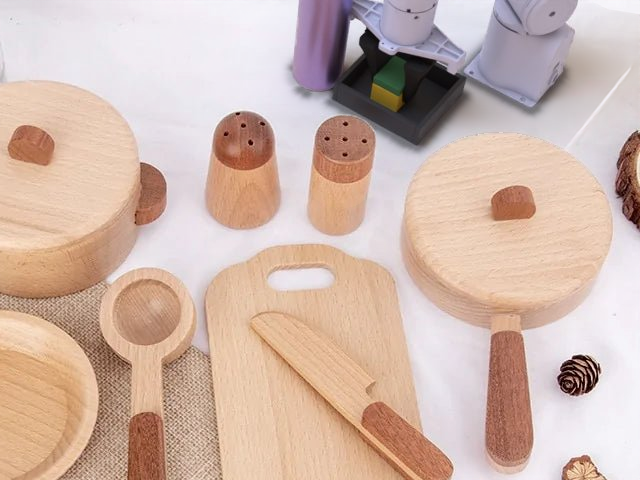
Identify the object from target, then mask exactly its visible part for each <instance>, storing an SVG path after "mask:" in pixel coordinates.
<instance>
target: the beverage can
mask: <svg viewBox="0 0 640 480" xmlns="http://www.w3.org/2000/svg"><path fill="white" fill-rule="evenodd" d="M352 7H353V0H298V7H297V16H296V17H297V19H296V27H295V36H294V37H295V38H294V47H293V57H292V69H291V72H292V77H293V78H294V80H295V82H296V83H297V84H298V85H299V86H300V87H302V88H304V89H306V90H309V91H312V92H313V91H314V92H324V91H328V90H332V89H333V88H334V83H335V82H336V81H337V80H338V79H339V78H340V77H341V76H342V75H343V74H344V67H345V60H346V52H347V47H348V39H349V32H350V27H351V13H352Z"/></svg>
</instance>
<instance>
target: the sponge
mask: <svg viewBox="0 0 640 480" xmlns="http://www.w3.org/2000/svg"><path fill="white" fill-rule="evenodd" d="M406 62H407V61H405V60H403V59H401V58H399V57H397V56H395V55H394V56H393V57H392V58H391V59H390V61H389V62H388V63H387V64H386V65H385V66H384V67H383V68H382V69H381V70H380V71H379V72H378V73H377V74H376V75H375V76H374V79H373V85H372V91H371V97H370V99H372V100H374V101H376V102H378V103H380V104H382V105H383V106H385V107H387V108H389V109H391V110H393V111H394V112H397V111H398V110H399V109H400V107H401V106H402V105H403V104H404V102H402V93H403V89H404V85H405V71H404V64H405V63H406Z"/></svg>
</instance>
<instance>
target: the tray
mask: <svg viewBox="0 0 640 480" xmlns="http://www.w3.org/2000/svg"><path fill="white" fill-rule="evenodd" d="M394 55H395V56H397V57H399V58H401V59H403V60H405V61H408V60H409V59H410V58H411V57H412V56H413V55H412V54H408V53H403V52H397V53H396V54H394ZM394 55H391V58H392V57H393V56H394ZM467 79H468V77H467V76H465V75H463V74H461V73H459V72H457V73H456V74H455V75H453V74H451V73H449V72H448V71H447V66H446V65H444V64H442V63H440V62H438V61H437V62H436V63H435V64H434V65H433V66H432V68H431V69H430V70H429V72H428V73H427V74H426V76H425V77H424V79H423V80H422V82H421V84H420V86H419V88H418V90H417V92H416V95H415V96H414V97H413V98H412V99H411V100H410V101H409V102H408V103H404V104H403V105H402V106H401V107H400V109H399V110H398V111H397V112H394V111H393V110H391V109H389V108H387V107H385V106H383V105H382V104H380V103H378V102H376V101H374V100H372V99H370V97H371V91H372V79H371V73H370V68H369V64H368V61H367V58H366V56H365V54H364V52H363V53H362V54H361V55H360V56H359V57H358V58H357V59H356V60H355V61H354V62H353V63H352V64H351V65H350V66H349V67H348V68H347V70H345V71H344V72H343V74H342V76H341V77H340V78H339V79H338V80H337V81H336V82H335V83H334V87H333V88H332V96H331V100H332V101H334V102H336V103H338V104H340V105H342V106H343V107H345V108H347V109H348V110H351V111H353V112H354V113H356V114H358V115H359V116H362V117H363V118H365V119H366V120H369V121H371V122H372V123H374V124H376V125H377V126H380V127H381V128H383V129H386V130H387V131H389V132H391V133H393V134H394V135H396V136H397V137H400V138H402V139H403V140H405V141H406V142H409V143H411V144H413V145H415V146H418V144H419V143H420V142H421V141H422V140H423V139H424V138H425V136H427V134H428V133H429V132H430V131H431V130H432V129H433V128H434V126H435V125H436V124H437V123H439V121H440V120H441V119H442V117H443V116H445V114H446V113H447V112H448V111H449V110H450V108H451V107H452V106H453V105H454V104H455V103H456V102H457V100H459V98H460V97H461V96H462V95H463V93H464V91H465V86H466V82H467Z"/></svg>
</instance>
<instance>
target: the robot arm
mask: <svg viewBox="0 0 640 480" xmlns="http://www.w3.org/2000/svg"><path fill="white" fill-rule="evenodd" d="M578 2H579V0H494V3H493V6H492V10H491V14H490V18H489V21H488V25H487V29H486V33H485V36H484V40H483V42H482V47H481V50H480V52H478V53H477V55H476V56H475V57H474V58H473V59H472V60H471V62H470V63H469V64H468V65H467V66H466V67H464V64H465V61H466V57H467V53H468V51H467V50H465V49H463V48H461V47H460V46H458V45H457V44H456V43H455V42H453V40H451V39H450V37H449V36H447V34H445V33H444V32H443V31H442V30H441V29H440V28H439V27H438V26H437V25H436V24H435V23H434V21H435V17H436V12H437V9H438V4H439V0H383V2H382V1H377V0H353V7H352V13H351V20H350V22H351V21H354V20H355V19H356V20H358V21H360V22H361V23H362V24H363V25H364V26H365V29H364V32H363V33H362V34H361V35H360V37H359V38H358V46H359V48H360V49H361V50H362V52H363V53H364V54H365V56H366V58H367V61H368V64H369V68H370V73H371V79H372V85H373V79H374V76H375V75H376V74H377V73H378V72H379V71H380V70H381V69H382V68H383V67H384V66H385V65H386V64H387V63H388V62H389V61H390V59H391V55H394V54H396V53H397V52H403V53H408V54H412V55H413V56H412V57H411V58H410V59H409V60H408V61H407V62H406V63H405V64H404V71H405V85H404V89H403V93H402V102H404V103H408V102H409V101H410V100H411V99H412V98H413V97H414V96H415V95H416V92H417V90H418V88H419V86H420V84H421V82H422V80H423V79H424V77H425V76H426V74H427V73H428V72H429V70H430V69H431V68H432V66H433V65H434V64H435V63H436V62H438V63H440V64H442V65H443V66H445V67H447V71H448V72H449V73H451V74H453V75H455V74H456V73H459V71H460V70H461V68H462V67H464V69H463V74H464V75H466V76H468V77H470V78H471V79H474V80H476V81H478V82H479V83H481V84H483V85H485V86H487V87H489V88H491V89H493V90H495V91H497V92H499V93H500V94H503V95H505V96H506V97H508V98H510V99H512V100H514V101H516V102H518V103H520V104H521V105H524V106H525V107H528V108H533V107H534V106H536V105H537V103H538V102H539V101H540V99H541V98H542V97H543V96H544V95H545V94H546V92H547V91H548V90H549V89H550V87H552V86H553V85H554V84H555V82H556V80H558V78H559V77H560V76H561V74H562V73H563V72H564V65H565V62H566V59H567V57H568V55H569V52H570V49H571V46H572V43H573V40H574V38H575V34H576V30H575V29H574V28H573V27H572V26H570V25H569V24H567V23H568V21H569V20H570V19H571V17H572V15H574V13H575V11H576V9H577V7H578ZM471 73H472V74H471Z"/></svg>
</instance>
